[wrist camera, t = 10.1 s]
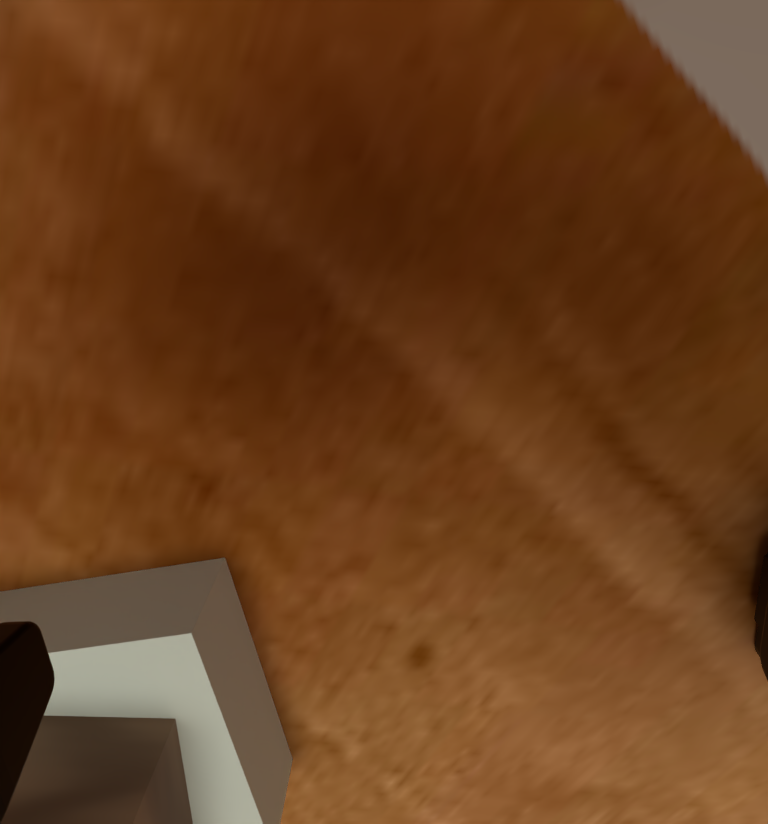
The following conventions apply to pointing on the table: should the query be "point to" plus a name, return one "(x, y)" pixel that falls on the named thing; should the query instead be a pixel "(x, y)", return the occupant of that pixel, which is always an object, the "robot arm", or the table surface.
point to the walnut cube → (102, 773)
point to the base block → (169, 676)
